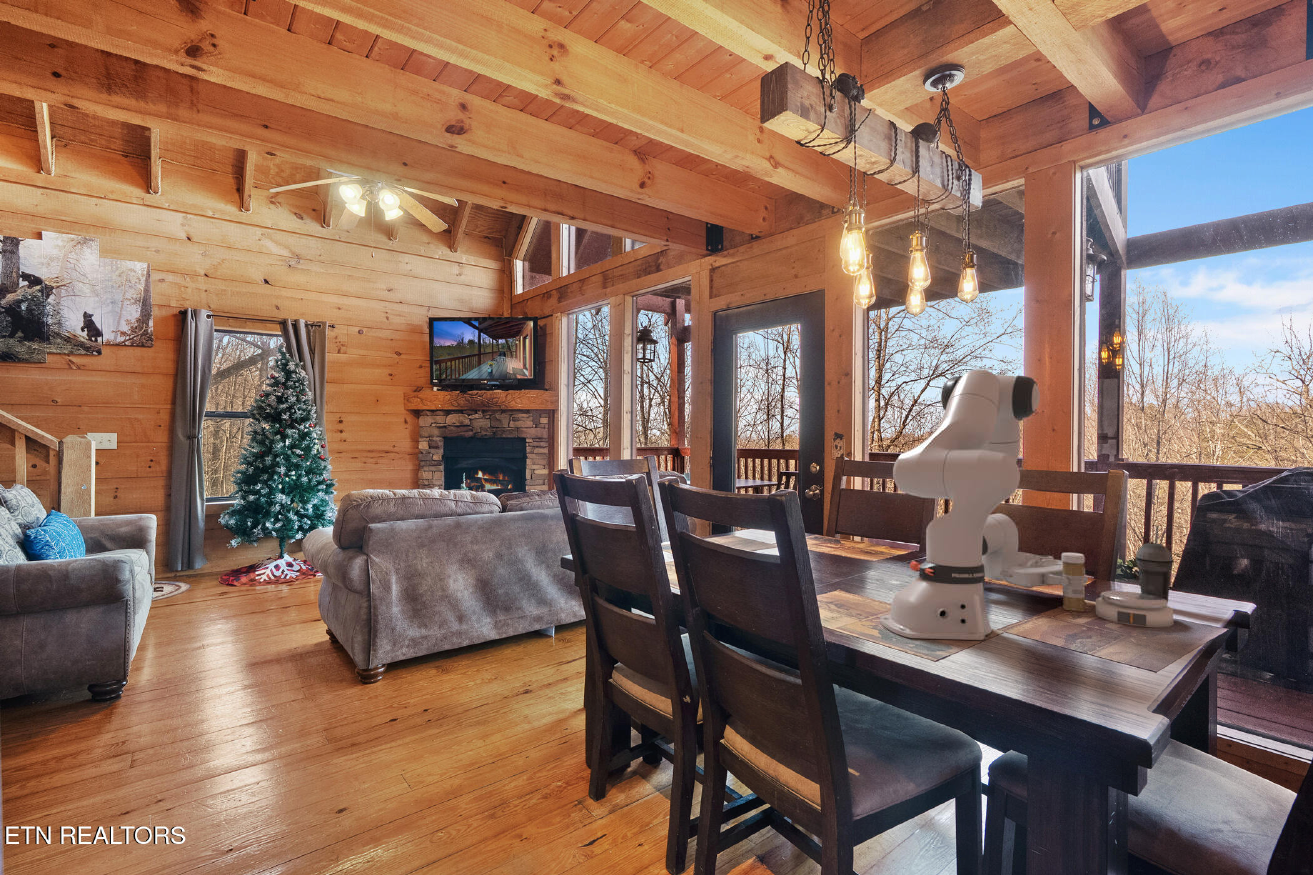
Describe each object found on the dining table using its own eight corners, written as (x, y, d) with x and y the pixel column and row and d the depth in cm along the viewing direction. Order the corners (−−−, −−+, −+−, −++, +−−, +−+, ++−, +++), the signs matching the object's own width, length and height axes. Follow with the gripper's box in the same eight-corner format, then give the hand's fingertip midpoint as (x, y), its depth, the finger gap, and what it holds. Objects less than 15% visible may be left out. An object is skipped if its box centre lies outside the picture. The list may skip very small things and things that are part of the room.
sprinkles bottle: (1083, 608, 148) (1083, 552, 148) (1086, 613, 144) (1085, 556, 144) (1061, 606, 150) (1060, 551, 150) (1063, 610, 146) (1062, 554, 146)
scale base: (1130, 628, 132) (1130, 614, 132) (1080, 610, 146) (1080, 597, 146) (1190, 626, 133) (1190, 612, 133) (1135, 608, 147) (1135, 596, 147)
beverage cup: (1160, 603, 152) (1159, 523, 152) (1182, 611, 145) (1181, 527, 145) (1128, 602, 153) (1127, 522, 153) (1149, 610, 145) (1148, 526, 146)
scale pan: (1131, 609, 133) (1131, 605, 133) (1087, 595, 145) (1087, 591, 145) (1182, 608, 134) (1181, 603, 134) (1134, 594, 146) (1134, 590, 146)
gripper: (994, 560, 156) (1045, 571, 143) (1052, 555, 163) (1106, 564, 150) (994, 585, 156) (1045, 598, 143) (1052, 578, 163) (1106, 590, 150)
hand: (1077, 581), depth 146 cm, fingers closed on sprinkles bottle, 4 cm apart
